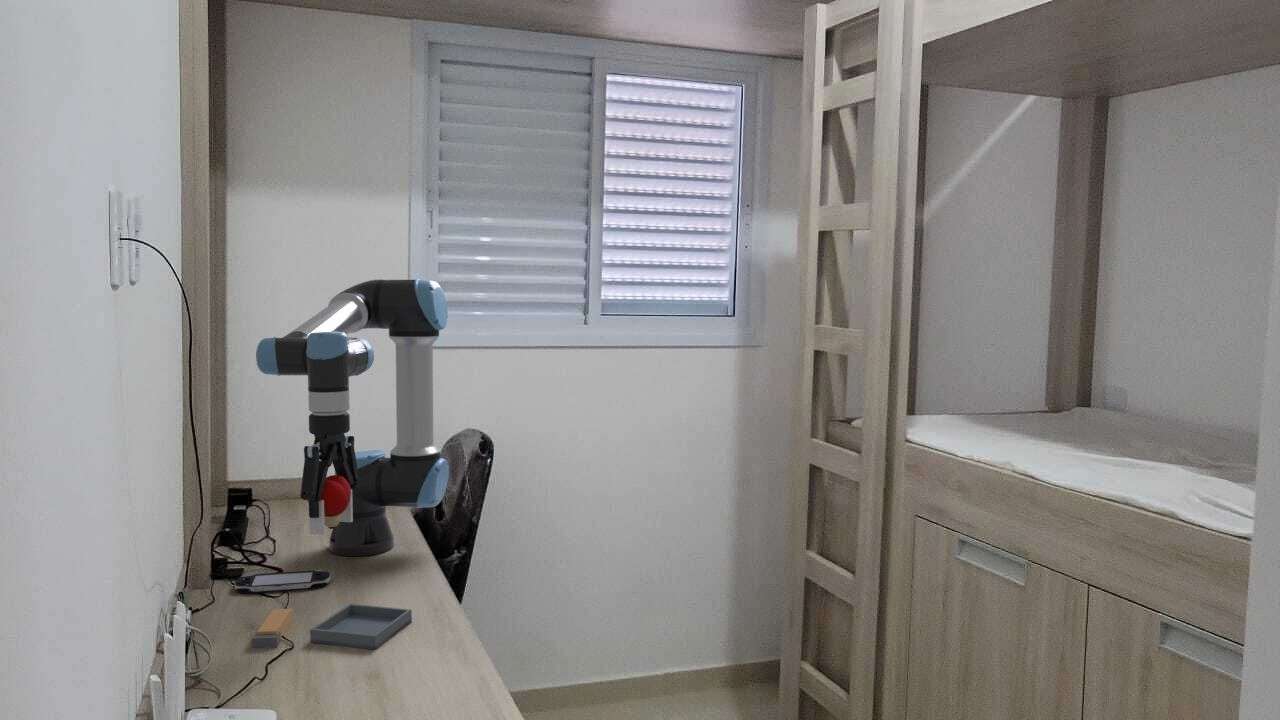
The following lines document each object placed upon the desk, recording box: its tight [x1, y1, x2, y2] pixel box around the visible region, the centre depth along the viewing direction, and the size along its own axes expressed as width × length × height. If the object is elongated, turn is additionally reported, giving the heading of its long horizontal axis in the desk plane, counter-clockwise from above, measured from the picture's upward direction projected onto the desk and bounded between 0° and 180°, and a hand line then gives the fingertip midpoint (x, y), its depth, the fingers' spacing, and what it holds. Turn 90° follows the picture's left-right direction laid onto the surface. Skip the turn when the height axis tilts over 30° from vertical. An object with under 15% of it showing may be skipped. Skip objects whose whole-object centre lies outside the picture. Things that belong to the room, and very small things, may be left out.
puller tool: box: [251, 608, 293, 649], centre depth 194 cm, size 14×4×2 cm, turn 6°
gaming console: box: [234, 569, 331, 595], centre depth 222 cm, size 19×9×3 cm, turn 103°
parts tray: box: [309, 603, 413, 650], centre depth 195 cm, size 14×13×2 cm
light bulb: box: [321, 474, 351, 530], centre depth 199 cm, size 9×7×10 cm
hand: (331, 527), depth 200 cm, fingers closed on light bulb, 9 cm apart
